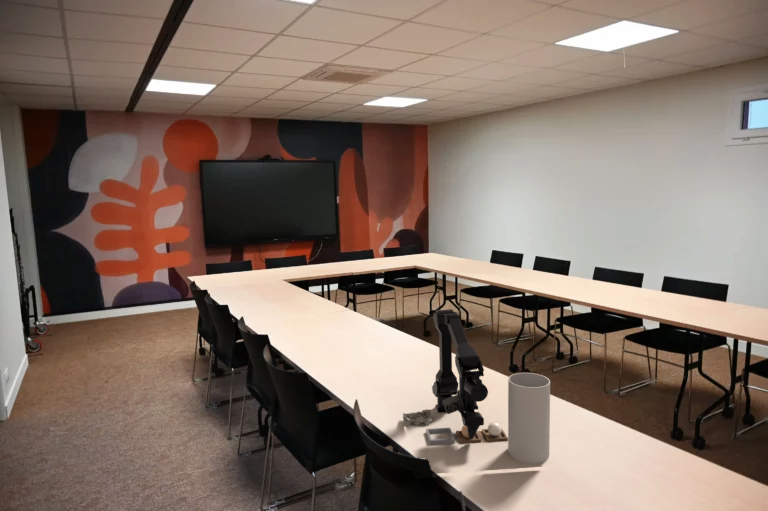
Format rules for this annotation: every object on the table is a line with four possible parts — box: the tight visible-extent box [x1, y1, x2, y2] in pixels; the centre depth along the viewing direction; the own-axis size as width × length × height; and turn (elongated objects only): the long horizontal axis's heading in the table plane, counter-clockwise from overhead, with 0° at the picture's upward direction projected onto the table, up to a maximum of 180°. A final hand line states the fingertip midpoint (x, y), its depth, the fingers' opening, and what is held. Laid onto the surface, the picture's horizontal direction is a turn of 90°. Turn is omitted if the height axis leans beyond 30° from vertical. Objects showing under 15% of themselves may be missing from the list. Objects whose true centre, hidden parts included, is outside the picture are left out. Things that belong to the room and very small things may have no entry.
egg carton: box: [402, 409, 433, 427], centre depth 183 cm, size 11×8×4 cm
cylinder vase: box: [507, 372, 551, 464], centre depth 157 cm, size 12×12×25 cm
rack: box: [455, 427, 508, 445], centre depth 170 cm, size 8×16×2 cm, turn 94°
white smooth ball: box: [487, 421, 503, 437], centre depth 170 cm, size 5×5×5 cm
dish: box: [425, 427, 456, 446], centre depth 170 cm, size 8×8×2 cm
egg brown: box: [461, 425, 469, 438], centre depth 169 cm, size 5×5×5 cm
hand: (468, 433), depth 169 cm, fingers open, 7 cm apart
